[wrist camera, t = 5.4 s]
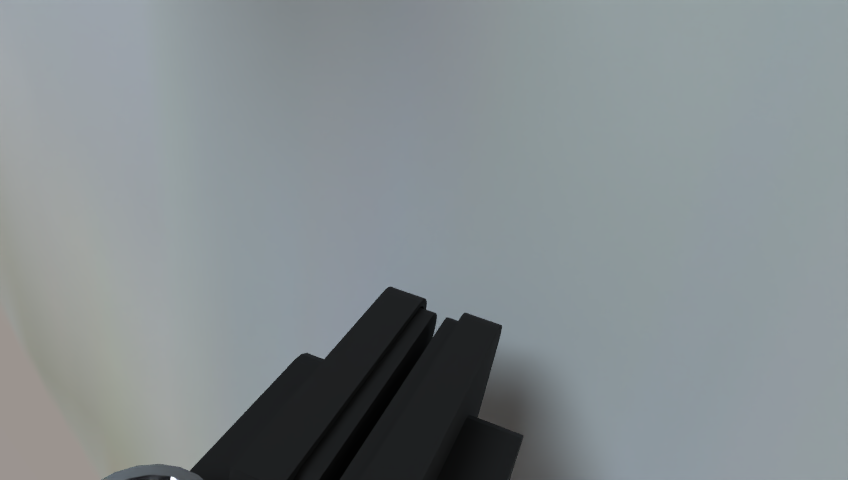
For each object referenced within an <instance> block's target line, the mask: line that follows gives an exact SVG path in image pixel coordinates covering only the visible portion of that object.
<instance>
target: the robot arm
mask: <svg viewBox="0 0 848 480" xmlns="http://www.w3.org/2000/svg"><path fill="white" fill-rule="evenodd" d="M426 304H427V301H426V299H424V298H422V297H419V296H416V295H413V294H410V293H407V292H404V291H401V290H399V289H396V288H393V287H388V288H387V289H386V290H385V291H384V292H383V293H382V294H381V295H380V296H379V297H378V299H377V300H376V301H375V302H374V303H373V304H372V305H371V307H370V308H369V309H368V310H367V311H366V312H365V313H364V315H363V316H362V317H361V318H360V319H359V320H358V321H357V323H356V324H355V325H354V326H353V327H352V328H351V329H350V331H349V332H348V333H347V334H346V335H345V336H344V337H343V338H342V340H341V341H340V342H339V343H338V344H337V345H336V346H335V348H334V349H333V350H332V351H331V352H330V353H329V354H328V356H327V357H326V358H325V359H321V358H319V357H316V356H313V355H311V354H308V353H305V354H301V355H300V356H299V357H298V358H296V359H295V360H294V361H293V362H292V363H291V364H290V365H289V366H288V367H287V369H286V370H285V371H284V372H283V373H282V374H281V375H280V376H279V377H278V378H277V379H276V380H275V381H274V382H273V383H272V384H271V385H270V387H269V388H268V389H267V390H266V391H265V392H264V393H263V394H262V395H261V396H260V397H259V398H258V399H257V400H256V401H255V402H254V403H253V405H252V406H251V407H250V408H249V409H248V410H247V411H246V412H245V413H244V414H243V415H242V416H241V417H240V418H239V419H238V420H237V421H236V423H235V424H234V425H233V426H232V427H231V428H230V429H229V430H228V431H227V432H226V433H225V434H224V435H223V436H222V437H221V438H220V439H219V441H218V442H217V443H216V444H215V445H214V446H213V447H212V448H211V449H210V450H209V451H208V452H207V453H206V454H205V455H204V456H203V457H202V459H201V460H200V461H199V462H198V463H197V464H196V465H195V466H194V467H193V468H192V469H191V470H190V471H188V470H186V469H183V468H181V467H176V466H169V465H163V464H153V465H140V466H134V467H131V468H128V469H124V470H121V471H117V472H115V473H113V474H111V475H109V476H107V477H105V478H104V479H102V480H510V477H511V474H512V471H513V468H514V464H515V461H516V458H517V455H518V452H519V449H520V445H521V442H522V439H523V435H521V434H518V433H516V432H513V431H510V430H508V429H505V428H502V427H500V426H497V425H495V424H492V423H489V422H487V421H484V420H481V419H479V418H478V414H479V410H480V407H481V403H482V400H483V396H484V392H485V389H486V385H487V382H488V378H489V374H490V371H491V367H492V363H493V360H494V356H495V353H496V349H497V345H498V342H499V338H500V334H501V329H502V325H499V324H496V323H493V322H491V321H488V320H485V319H482V318H479V317H476V316H473V315H470V314H468V313H464V314H463V315H462V316H461V318H460V319H459V321H456V320H454V319H451V318H448V317H447V318H446V319H445V320H444V321H443V323H442V325H441V326H440V328H439V329H438V331H437V332H436V334H435V335H434V337H433V333H434V329H435V325H436V319H437V315H436V313H434V312H431V311H428V310H426Z"/></svg>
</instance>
